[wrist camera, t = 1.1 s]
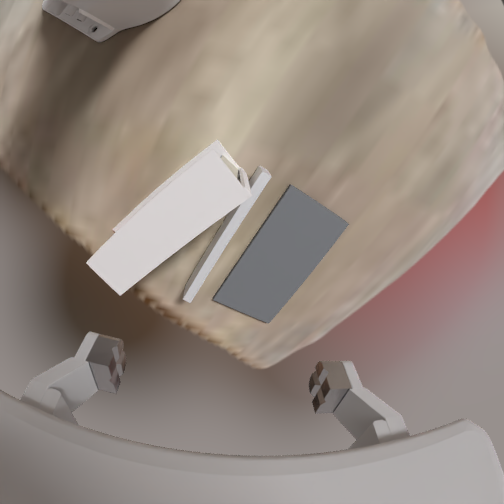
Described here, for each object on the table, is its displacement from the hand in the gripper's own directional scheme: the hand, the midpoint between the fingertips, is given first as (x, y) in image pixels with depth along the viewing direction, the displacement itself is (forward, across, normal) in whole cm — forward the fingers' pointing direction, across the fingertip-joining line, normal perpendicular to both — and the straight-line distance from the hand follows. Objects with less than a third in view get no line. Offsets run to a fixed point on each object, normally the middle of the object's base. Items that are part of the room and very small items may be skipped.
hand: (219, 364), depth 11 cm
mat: (+27, -8, +8) cm, 29 cm away
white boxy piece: (+27, +8, +2) cm, 28 cm away
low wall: (+27, 0, +5) cm, 27 cm away
